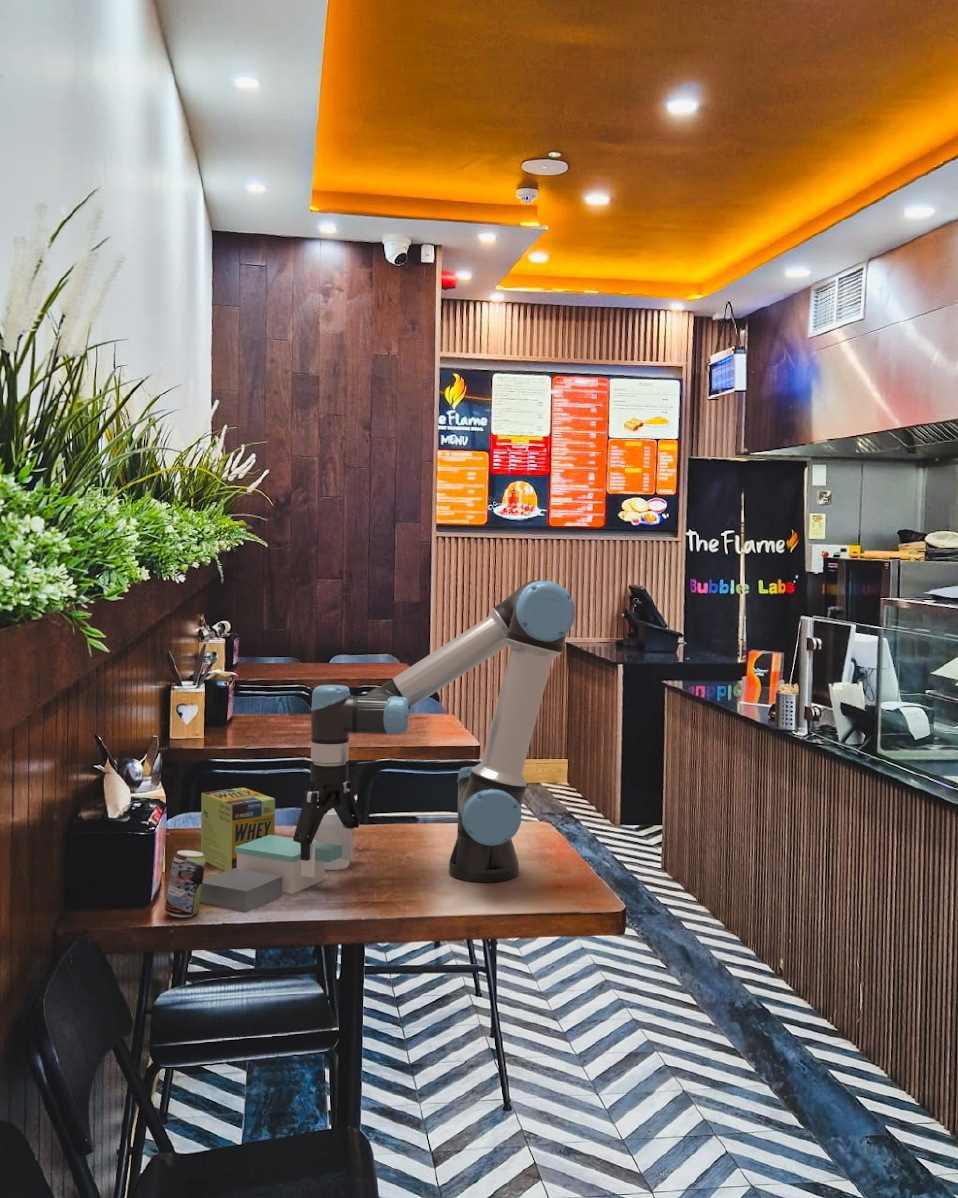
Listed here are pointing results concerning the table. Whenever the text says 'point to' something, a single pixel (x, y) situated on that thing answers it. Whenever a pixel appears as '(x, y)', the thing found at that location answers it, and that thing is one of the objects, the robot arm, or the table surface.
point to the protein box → (233, 823)
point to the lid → (287, 849)
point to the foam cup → (331, 837)
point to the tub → (282, 871)
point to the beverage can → (185, 883)
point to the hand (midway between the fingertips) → (327, 867)
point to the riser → (240, 889)
